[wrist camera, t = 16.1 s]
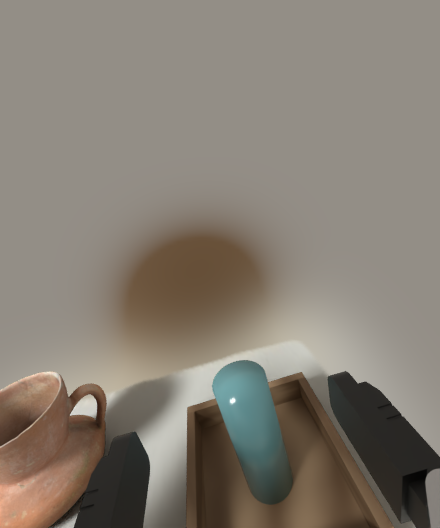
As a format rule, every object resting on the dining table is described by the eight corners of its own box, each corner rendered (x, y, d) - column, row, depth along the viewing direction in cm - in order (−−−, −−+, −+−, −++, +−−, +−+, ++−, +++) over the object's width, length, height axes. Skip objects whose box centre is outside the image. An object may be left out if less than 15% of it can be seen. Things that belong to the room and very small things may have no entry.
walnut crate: (202, 642, 20) (185, 616, 18) (196, 429, 37) (187, 407, 35) (405, 574, 20) (404, 544, 19) (306, 395, 37) (301, 371, 36)
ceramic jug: (-30, 611, 25) (-128, 531, 20) (-8, 487, 37) (-67, 418, 32) (139, 469, 34) (98, 390, 29) (114, 406, 46) (81, 343, 41)
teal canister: (252, 511, 25) (214, 411, 21) (242, 458, 30) (210, 369, 26) (300, 496, 25) (273, 393, 21) (283, 446, 30) (258, 354, 26)
